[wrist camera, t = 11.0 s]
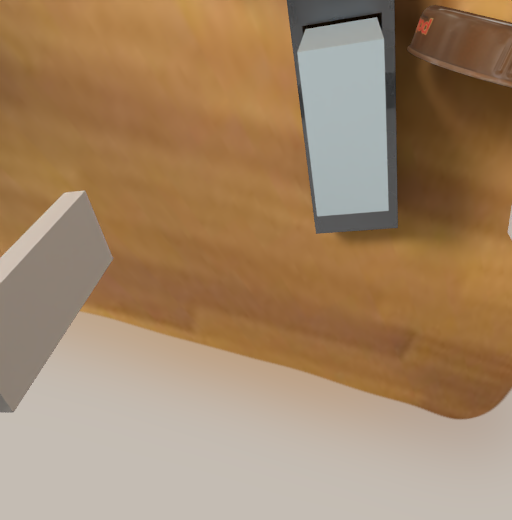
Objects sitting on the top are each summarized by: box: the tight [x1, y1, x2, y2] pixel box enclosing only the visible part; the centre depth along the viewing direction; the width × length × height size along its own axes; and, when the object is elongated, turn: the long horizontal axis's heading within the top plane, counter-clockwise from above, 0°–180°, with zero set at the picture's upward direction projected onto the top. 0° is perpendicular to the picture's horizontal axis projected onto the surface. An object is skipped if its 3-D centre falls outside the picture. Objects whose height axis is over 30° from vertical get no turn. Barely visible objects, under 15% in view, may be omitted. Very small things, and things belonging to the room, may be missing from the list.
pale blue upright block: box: [297, 17, 389, 216], centre depth 29 cm, size 4×9×10 cm, turn 10°
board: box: [287, 0, 398, 234], centre depth 32 cm, size 6×20×3 cm, turn 10°
